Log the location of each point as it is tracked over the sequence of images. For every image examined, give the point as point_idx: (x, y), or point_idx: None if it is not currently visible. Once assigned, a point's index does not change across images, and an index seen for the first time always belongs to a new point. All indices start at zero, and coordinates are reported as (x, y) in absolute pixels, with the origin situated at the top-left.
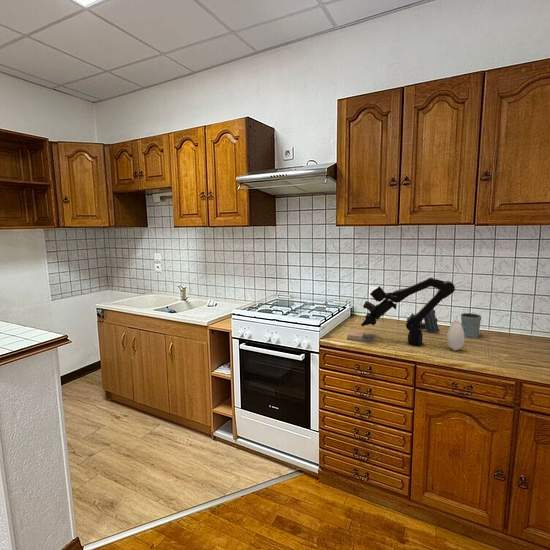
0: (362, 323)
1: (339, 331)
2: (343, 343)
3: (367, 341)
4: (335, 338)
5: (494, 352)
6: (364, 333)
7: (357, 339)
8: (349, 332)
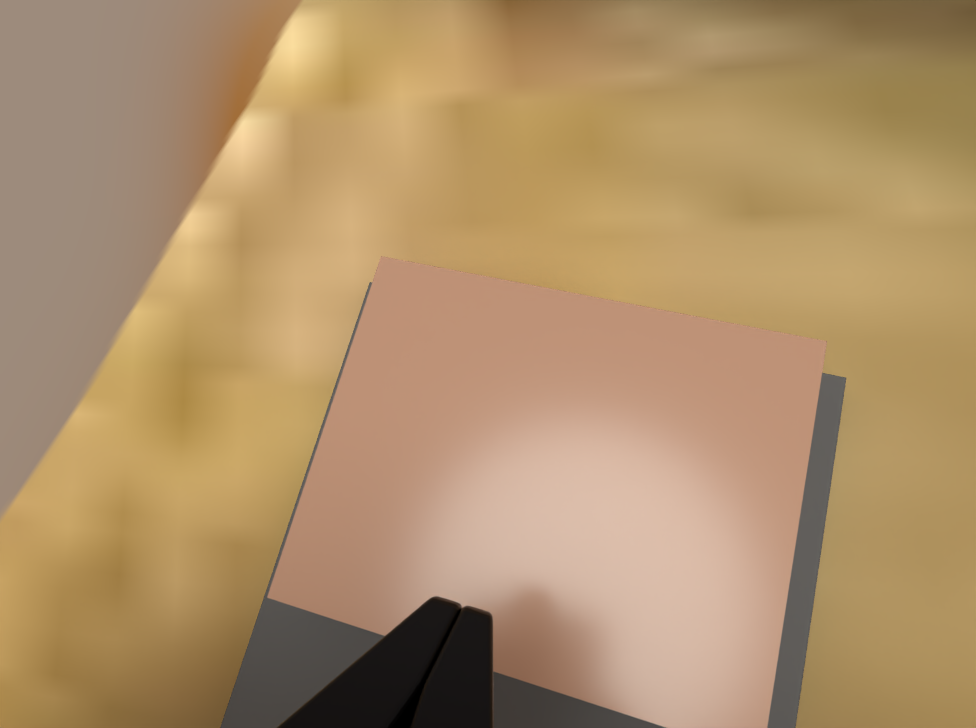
0: (360, 664)
1: (968, 127)
2: (183, 232)
3: (226, 714)
4: (451, 92)
5: None
6: (640, 713)
7: None
8: (576, 297)
